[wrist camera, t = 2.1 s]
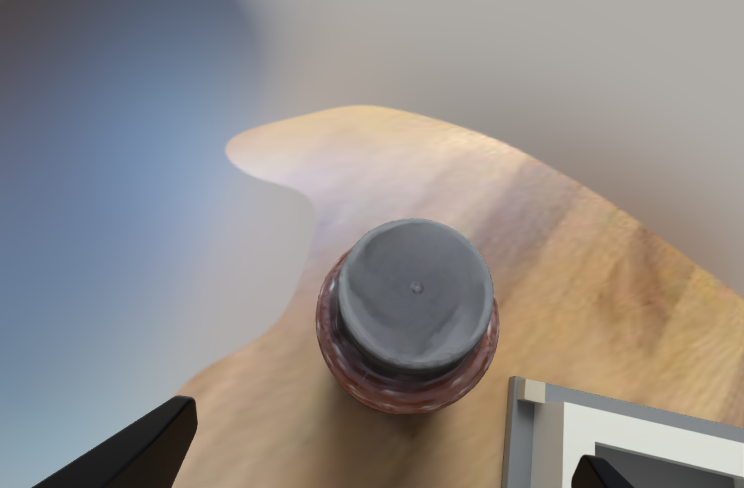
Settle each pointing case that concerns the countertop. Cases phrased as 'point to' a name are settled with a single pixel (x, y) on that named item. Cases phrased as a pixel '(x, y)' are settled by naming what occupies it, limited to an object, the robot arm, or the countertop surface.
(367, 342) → the supplement bottle
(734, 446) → the socket holder
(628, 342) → the countertop surface
